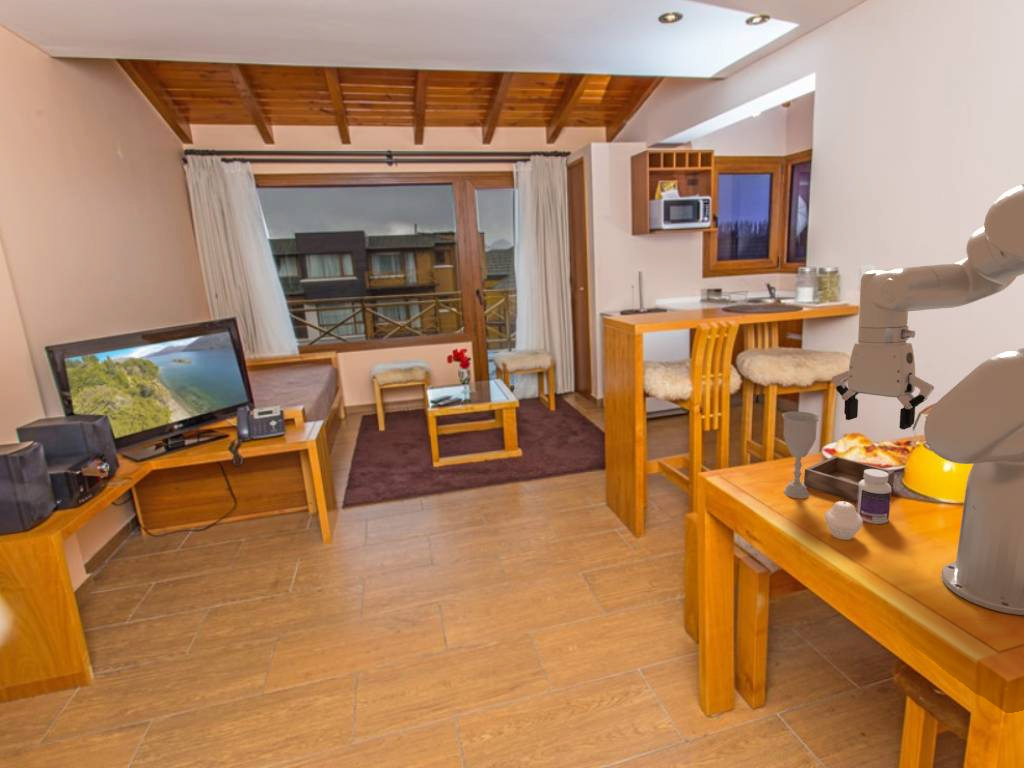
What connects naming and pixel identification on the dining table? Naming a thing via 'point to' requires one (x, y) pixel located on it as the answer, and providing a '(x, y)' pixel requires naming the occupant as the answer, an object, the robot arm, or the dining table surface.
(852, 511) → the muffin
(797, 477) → the chalice
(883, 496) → the pill bottle
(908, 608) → the dining table surface
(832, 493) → the walnut box
